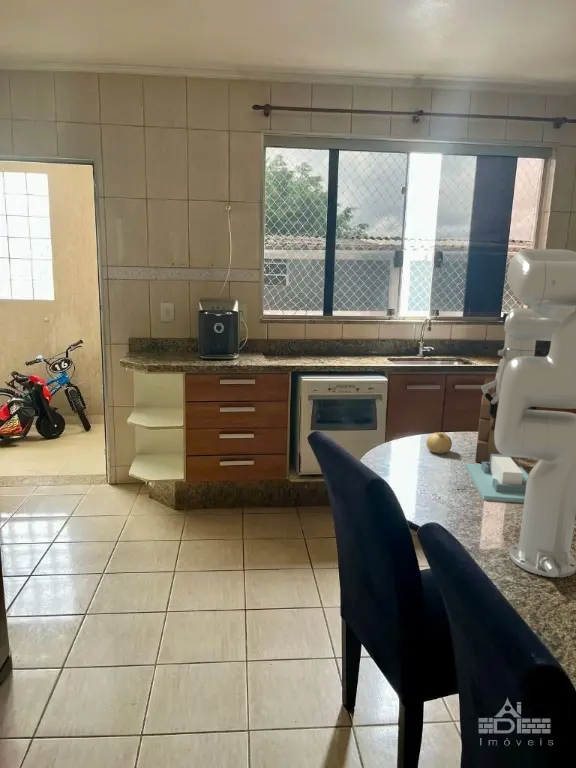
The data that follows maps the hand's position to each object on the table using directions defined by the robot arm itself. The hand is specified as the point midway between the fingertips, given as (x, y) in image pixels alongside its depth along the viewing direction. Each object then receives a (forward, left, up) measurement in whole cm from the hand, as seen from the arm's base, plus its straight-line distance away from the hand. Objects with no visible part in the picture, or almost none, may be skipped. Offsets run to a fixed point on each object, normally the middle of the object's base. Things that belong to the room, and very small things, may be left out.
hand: (511, 418), depth 152 cm
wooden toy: (+24, -1, -19) cm, 31 cm away
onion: (+25, +14, -19) cm, 35 cm away
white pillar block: (0, 0, -18) cm, 18 cm away
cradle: (0, 0, -19) cm, 19 cm away
